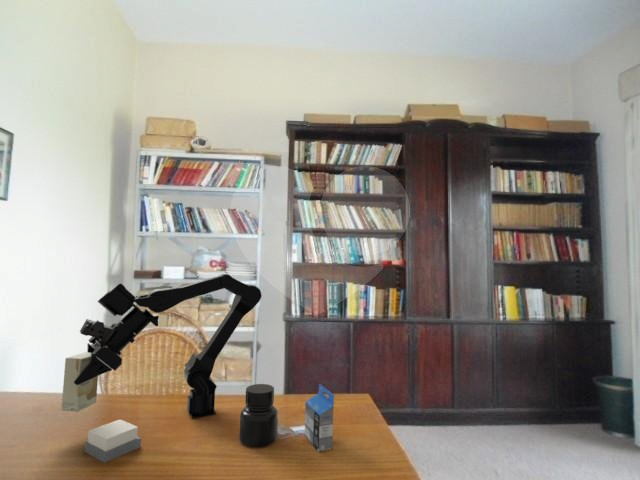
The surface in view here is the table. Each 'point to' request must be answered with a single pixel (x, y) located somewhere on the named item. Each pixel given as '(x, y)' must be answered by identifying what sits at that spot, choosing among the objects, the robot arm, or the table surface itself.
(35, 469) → the table surface
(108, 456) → the tower bottom
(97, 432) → the tower top
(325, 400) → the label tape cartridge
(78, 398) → the skincare box
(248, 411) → the ink bottle
